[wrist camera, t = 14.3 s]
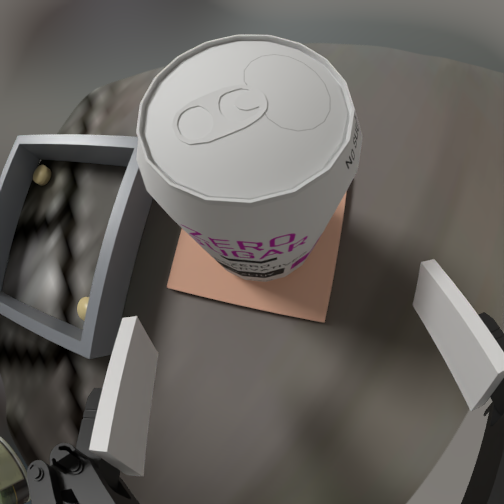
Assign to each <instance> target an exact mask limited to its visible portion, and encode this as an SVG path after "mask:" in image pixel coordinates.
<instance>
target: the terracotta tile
mask: <svg viewBox="0 0 504 504" xmlns="http://www.w3.org/2000/svg"><path fill="white" fill-rule="evenodd" d="M346 192H347V191H346ZM345 200H346V193H345V194H344V196H343V198H342V200H341V202H340V203H339V205H338V207H337V209H336V210H335V212H334V214H333V216H332V217H331V219H330V221H329V223H328V224H327V226H326V228H325V230H324V231H323V233H322V235H321V236H320V238H319V240H318V242H317V243H316V245H315V247H314V248H313V250H312V251H311V253H310V254H309V256H308V257H307V259H306V260H305V262H304V263H303V265H302V266H300V267H299V268H297V269H296V270H294V271H293V272H292V273H290V274H289V275H287V276H286V277H282V278H279V279H275V280H271V281H267V282H262V281H251V280H244V279H242V278H240V277H238V276H236V275H234V274H232V273H230V272H228V271H227V270H225V269H224V268H223V267H222V266H221V265H220V264H219V263H218V262H217V261H216V260H215V259H214V258H213V257H212V256H211V255H210V254H209V253H207V252H206V251H205V250H204V249H203V248H202V247H201V246H200V245H199V244H198V243H197V242H196V241H195V240H194V239H193V238H192V237H191V236H190V235H189V234H188V233H187V232H186V231H184V230H183V229H181V233H180V237H179V241H178V244H177V248H176V252H175V256H174V260H173V264H172V268H171V272H170V276H169V280H168V284H167V288H170V289H174V290H178V291H182V292H186V293H190V294H194V295H198V296H202V297H206V298H211V299H215V300H219V301H223V302H228V303H232V304H236V305H241V306H245V307H250V308H254V309H259V310H264V311H268V312H273V313H278V314H283V315H287V316H292V317H297V318H302V319H308V320H313V321H318V322H323V323H325V318H326V313H327V308H328V303H329V298H330V293H331V288H332V283H333V277H334V272H335V266H336V260H337V254H338V248H339V242H340V235H341V229H342V222H343V215H344V208H345Z"/></svg>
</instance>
